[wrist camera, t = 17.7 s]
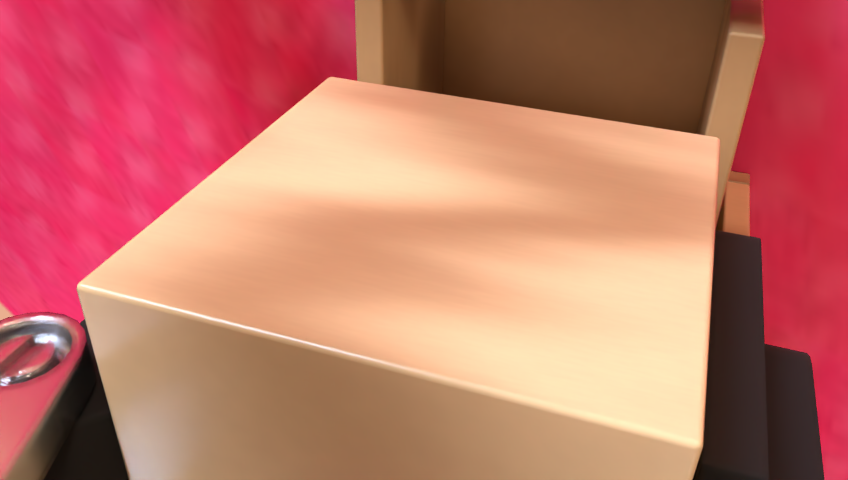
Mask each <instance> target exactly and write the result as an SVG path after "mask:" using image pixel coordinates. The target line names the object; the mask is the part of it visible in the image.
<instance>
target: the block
mask: <svg viewBox="0 0 848 480" xmlns="http://www.w3.org/2000/svg"><path fill="white" fill-rule="evenodd" d="M719 157H720V139H719V138H717V137H712V136H705V135H699V134H693V133H686V132H680V131H673V130H667V129H661V128H654V127H648V126H642V125H635V124H629V123H622V122H616V121H610V120H603V119H597V118H591V117H584V116H578V115H571V114H565V113H559V112H552V111H546V110H540V109H533V108H527V107H520V106H514V105H508V104H501V103H495V102H489V101H482V100H476V99H469V98H463V97H457V96H450V95H444V94H438V93H431V92H425V91H419V90H412V89H406V88H399V87H393V86H387V85H380V84H374V83H368V82H361V81H355V80H348V79H342V78H336V77H329V78H327V79H326V80H325V81H324V82H322V83H321V84H320V85H319V86H318V87H316V88H315V89H314V90H313V91H311V92H310V93H309V94H308V95H307V96H305V97H304V98H303V99H302V100H301V101H299V102H298V103H297V104H296V105H294V106H293V107H292V108H291V109H290V110H288V111H287V112H286V113H285V114H283V115H282V116H281V117H280V118H279V119H277V120H276V121H275V122H274V123H273V124H271V125H270V126H269V127H268V128H266V129H265V130H264V131H263V132H262V133H260V134H259V135H258V136H257V137H256V138H254V139H253V140H252V141H251V142H249V143H248V144H247V145H246V146H245V147H243V148H242V149H241V150H240V151H238V152H237V153H236V154H235V155H234V156H232V157H231V158H230V159H229V160H228V161H226V162H225V163H224V164H223V165H221V166H220V167H219V168H218V169H217V170H215V171H214V172H213V173H212V174H211V175H209V176H208V177H207V178H206V179H204V180H203V181H202V182H201V183H200V184H198V185H197V186H196V187H195V188H193V189H192V190H191V191H190V192H189V193H187V194H186V195H185V196H184V197H183V198H181V199H180V200H179V201H178V202H176V203H175V204H174V205H173V206H172V207H170V208H169V209H168V210H167V211H166V212H164V213H163V214H162V215H161V216H159V217H158V218H157V219H156V220H155V221H153V222H152V223H151V224H150V225H148V226H147V227H146V228H145V229H144V230H142V231H141V232H140V233H139V234H138V235H136V236H135V237H134V238H133V239H131V240H130V241H129V242H128V243H127V244H125V245H124V246H123V247H122V248H121V249H119V250H118V251H117V252H116V253H114V254H113V255H112V256H111V257H110V258H108V259H107V260H106V261H105V262H104V263H102V264H101V265H100V266H99V267H97V268H96V269H95V270H94V271H93V272H91V273H90V274H89V275H88V276H86V277H85V278H84V279H83V280H82V281H80V282H79V284H78V285H77V292H78V296H79V299H80V303H81V307H82V310H83V314H84V318H85V321H86V325H87V328H88V332H89V336H90V339H91V343H92V347H93V350H94V354H95V358H96V361H97V365H98V369H99V372H100V376H101V380H102V383H103V387H104V391H105V394H106V398H107V401H108V405H109V409H110V412H111V416H112V420H113V423H114V427H115V431H116V434H117V438H118V442H119V445H120V449H121V453H122V456H123V460H124V463H125V467H126V471H127V474H128V478H129V480H693V477H694V474H695V470H696V467H697V464H698V461H699V458H700V455H701V452H702V449H703V441H704V423H705V406H706V388H707V370H708V352H709V335H710V317H711V299H712V282H713V264H714V246H715V228H716V211H717V193H718V175H719Z"/></svg>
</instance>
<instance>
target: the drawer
mask: <svg viewBox="0 0 848 480" xmlns="http://www.w3.org/2000/svg"><path fill="white" fill-rule="evenodd" d="M355 23H356V55H357V81H361V82H368V83H374V84H380V85H387V86H393V87H399V88H406V89H412V90H419V91H425V92H431V93H438V94H444V95H450V96H457V97H463V98H469V99H476V100H482V101H489V102H495V103H501V104H508V105H514V106H520V107H527V108H533V109H540V110H546V111H552V112H559V113H565V114H571V115H578V116H584V117H591V118H597V119H603V120H610V121H616V122H622V123H629V124H635V125H642V126H648V127H654V128H661V129H667V130H673V131H680V132H686V133H693V134H699V135H705V136H712V137H717V138H719V139H720V157H719V175H718V193H717V211H716V225H717V221H718V217H719V213H720V210H721V206H722V202H723V198H724V194H725V190H726V187H727V183H728V179H729V175H730V171H731V167H732V164H733V160H734V156H735V152H736V148H737V145H738V141H739V137H740V133H741V129H742V125H743V122H744V118H745V114H746V110H747V106H748V103H749V99H750V95H751V91H752V87H753V83H754V80H755V76H756V72H757V68H758V64H759V60H760V57H761V53H762V49H763V45H764V41H765V29H764V11H763V0H355ZM715 229H716V228H715Z"/></svg>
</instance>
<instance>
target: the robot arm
mask: <svg viewBox="0 0 848 480" xmlns="http://www.w3.org/2000/svg"><path fill="white" fill-rule="evenodd" d="M0 480H129V478H128V474H127V471H126V467H125V463H124V460H123V456H122V453H121V449H120V445H119V442H118V438H117V434H116V431H115V427H114V423H113V420H112V416H111V412H110V409H109V405H108V401H107V398H106V394H105V391H104V387H103V383H102V380H101V376H100V372H99V369H98V365H97V361H96V358H95V354H94V350H93V347H92V343H91V339H90V336H89V332H88V328H87V325H86V321H85V319H84V320H83V321H82V322H81V323H80V324H79V323H78V321H76V320H74V319H72V318H70V317H68V316H66V315H63V314H57V313H50V312H38V313H26V314H22V315H17V316H13V317H8V318H6V319H3V320H0ZM693 480H824V472H823V463H822V454H821V444H820V435H819V426H818V417H817V407H816V398H815V389H814V379H813V370H812V363H811V359H810V356H809V355H808V354H807V353H804V352H799V351H795V350H790V349H786V348H781V347H776V346H772V345H767V344H764V316H763V286H762V256H761V239H760V238H756V237H751V236H746V235H740V234H735V233H730V232H724V231H719V230H715V246H714V264H713V282H712V299H711V317H710V335H709V352H708V370H707V388H706V406H705V423H704V441H703V449H702V452H701V455H700V458H699V461H698V464H697V467H696V470H695V474H694V477H693Z"/></svg>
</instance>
